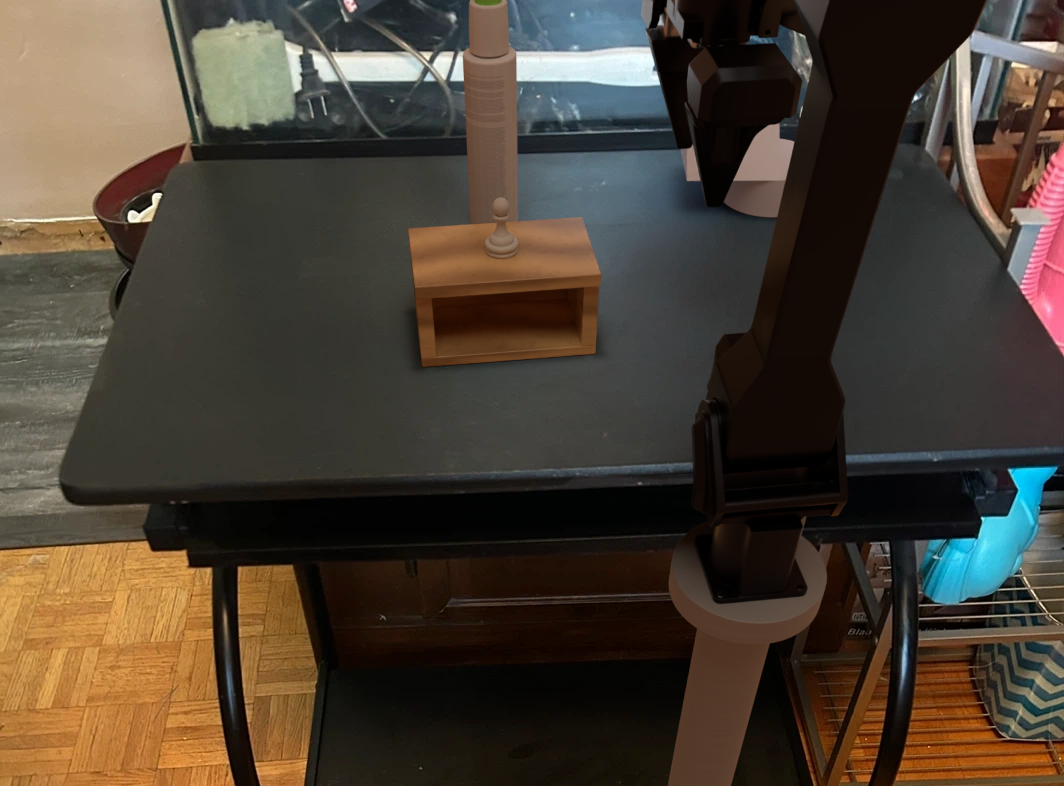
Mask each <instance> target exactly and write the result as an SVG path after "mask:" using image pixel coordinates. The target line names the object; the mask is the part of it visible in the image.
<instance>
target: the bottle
mask: <svg viewBox="0 0 1064 786" xmlns="http://www.w3.org/2000/svg"><path fill="white" fill-rule="evenodd" d="M509 26H510V25H509V12H508V1H507V0H469V2H468V37H469V47H468V48H466V49H465V50H464V51H463V52H462V72H463V73H462V74H463V94H464V112H465V113H464V114H465V116H464V117H465V130H466V131H465V136H466V154H467V155H466V157H467V158H466V159H467V176H468V180H467V181H468V199H469V218H470V219H469V221H470V224H484V223H497V221H496V220H494V219H493V214H494V211H493V207H492V206H493V202H494V201H495V200H496V199H497V198H499V197H502V198H505V199H506V200H507V201H508V203H509V211H508V214H509V216H510V217H509V219H508V220H506V222H515V221H519V170H518V167H519V166H518V165H519V164H518V162H519V160H518V159H519V158H518V155H519V154H518V83H517V82H518V75H517V74H518V73H517V71H518V69H517V67H518V66H517V65H518V64H517V63H518V62H517V60H518V59H517V51H516V50H515V49H514V48H513V47H511V46H510V35H509V34H510V33H509V32H510V30H509V29H510V28H509Z"/></svg>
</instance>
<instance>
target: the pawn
mask: <svg viewBox="0 0 1064 786" xmlns="http://www.w3.org/2000/svg"><path fill="white" fill-rule="evenodd" d="M492 207H493V211H494V214H493V219H494V220H496V221H497V225H496V229H495V231H494V232H493V233H492V234H491V235H490V236H489V237H488V238H487V239H486V240H485V247H486V253H487V254H488V255H489V256H491V257H494V258H500V259H503V258H509V257H512V256H514V255H515V254H516V253H517V252H518V244H519V242H518V239H517V238H516V237H515V236H513V235H512V233H511V232H509V231H508V230H507V227H506V220H508V219H509V217H510V216H509V214H508V211H509V203H508V201H507V200H506V199H505V198H502V197H499V198H497V199H496V200H495V201H494V202H493V206H492Z"/></svg>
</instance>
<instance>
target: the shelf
mask: <svg viewBox="0 0 1064 786" xmlns="http://www.w3.org/2000/svg"><path fill="white" fill-rule="evenodd" d="M496 225H497V223H484V224H471V223H470V224H457V225H455V224H454V225H439V226H427V227H425V226H424V227H412V228H411V227H409V228H408V229H407V232H408V243H409V244H408V245H409V252H410V253H409V254H410V264H411V274H412V287H413V295H414V306H415V308H414V309H415V315H416V316H415V317H416V318H415V319H416V326H417V333H418V342H419V353H420V361H421V367H422V368H428V367H439V366H441V367H442V366H455V365H467V364H468V365H469V364H481V363H493V362H505V361H507V362H509V361H522V360H533V359H534V360H535V359H546V358H547V359H548V358H559V357H573V356H585V355H586V356H587V355H595V354H596V352H597V351H596V350H597V347H596V346H597V335H598V318H599V317H598V315H599V297H600V287H601V286H602V272H601V270H600V267H599V264H598V260H597V257H596V254H595V251H594V249H593V245H592V243H591V240H590V236H589V234H588V231H587V228H586V225H585V222H584V218H583V217H582V216H577V217H562V218H561V217H560V218H547V219H533V220H531V219H530V220H518V221H515V222H506V227H507V230H508V231H509V232H511V233H512V235H513V236H515V237H516V238H517V239H518V242H519V244H518V252H517V253H516V254H515V255H514V256H512V257H509V258H503V259H500V258H494V257H491V256H489V255H488V254H487V253H486V247H485V240H486V239H487V238H488V237H489V236H490V235H491V234H492V233H493V232H494V231H495V229H496Z"/></svg>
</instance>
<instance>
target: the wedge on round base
mask: <svg viewBox="0 0 1064 786" xmlns="http://www.w3.org/2000/svg"><path fill="white" fill-rule="evenodd" d="M780 133H781V131H780V123H779V124H775V125H768V126H767V127H766V128H764V129H763V130H762V131H760V132H759V133H758V134H757V135H756V136H755V137H754V139H753V141H752V143H751V145H750V146H749V148H748V150H747V152H746V154H745V156H744V158H743V161H742V163H741V165H740V167H739V169H738V172H737V174H736V176H735V178H734V180H733V183H732V185H731V187H730V189H729V191H728V194H727V196H726V198H725V200H724V202H723V204H725V205H726V206H727V207H728V208H729V207H730V208H731V209H733V210H735V211H737V212H739V213H741V214H745V215H748V216H749V215H750V216H753V217H760V218H777V215H778V211H779V206H780V202H781V198H782V194H783V189H784V185H785V181H786V176H787V172H788V168H789V163H790V159H791V155H792V150H793V146H794V142H795V140H794V141H793V140H790V139H786V138H785V139H784V138H780V136H781V135H780ZM680 154H681V158H682V159H681V160H682V163H683V168H684V173H685V179H686V182H700V177H699V172H698V167H697V162H696V157H695V152H694V147H693V145H692V147H691V148H689V149H680Z"/></svg>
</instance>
